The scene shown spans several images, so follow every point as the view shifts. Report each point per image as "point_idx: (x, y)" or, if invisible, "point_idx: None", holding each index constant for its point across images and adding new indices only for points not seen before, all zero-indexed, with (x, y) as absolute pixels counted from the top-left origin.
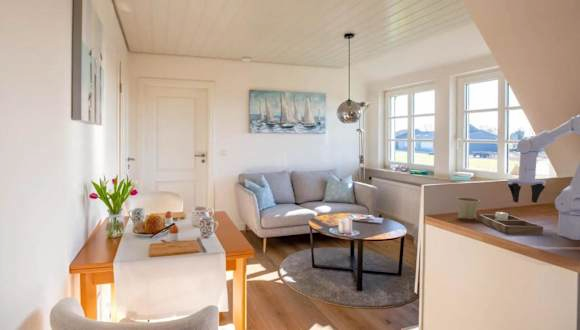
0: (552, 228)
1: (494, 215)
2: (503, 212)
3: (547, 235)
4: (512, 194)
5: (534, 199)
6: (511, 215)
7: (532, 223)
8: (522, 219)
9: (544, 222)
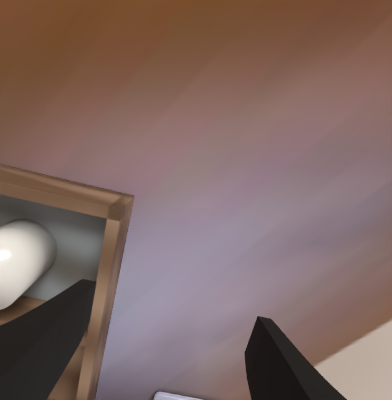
0: (267, 314)
1: (5, 194)
2: (8, 264)
3: (129, 394)
4: (30, 318)
5: (253, 368)
6: (115, 224)
7: (81, 394)
8: (99, 320)
9: (361, 207)
